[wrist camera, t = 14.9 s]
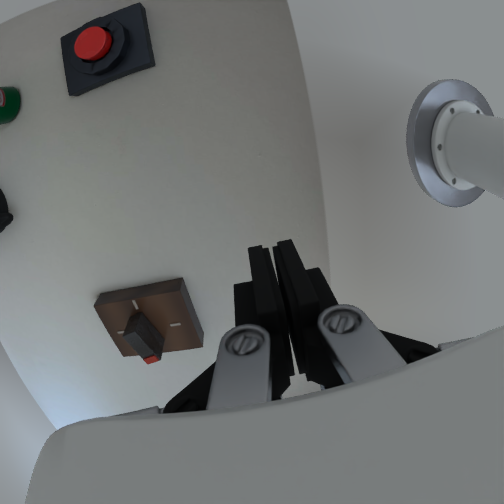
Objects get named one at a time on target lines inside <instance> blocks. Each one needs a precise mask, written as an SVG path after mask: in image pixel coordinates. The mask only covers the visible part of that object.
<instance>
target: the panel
mask: <svg viewBox="0 0 504 504" xmlns="http://www.w3.org/2000/svg"><path fill="white" fill-rule="evenodd" d="M94 308H95V310H96V312H97V313H98V315H99V317H100V319H101V321H102V322H103V324H104V326H105V328H106V329H107V331H108V333H109V334H110V336H111V338H112V339H113V341H114V343H115V344H116V346H117V348H118V349H119V351H120V352H121V354H122V355H123V357H126V356H137V355H139V354H138V353H137V352H136V351H135V350H134V349H133V348H132V347H131V346H130V345H129V344H128V343H127V342H126V340H125V339H124V338H123V337H122V336H123V333H124V330H125V328H126V325H127V322H128V320H129V317H131V316H133V315H135V314H137V313H140V312H142V313H143V314H144V315H145V317H146V318H147V319H148V320H149V321H150V323H151V324H152V325H153V326H154V327H155V328H156V330H157V331H158V332H159V333H160V334H161V335H162V337H163V338H164V339H165V342H164V346H163V351H162V353H164V352H172V351H180V350H187V349H194V348H201V347H203V338H204V333H203V330H202V328H201V325H200V322H199V320H198V317H197V315H196V312H195V309H194V307H193V304H192V302H191V299H190V296H189V293H188V291H187V288H186V285H185V282H184V280H183V278H179V279H174V280H169V281H164V282H159V283H154V284H149V285H143V286H138V287H133V288H128V289H123V290H117V291H112V292H107V293H101V294H100V295H99V297H98V299H97V300H96V302H95V304H94Z"/></svg>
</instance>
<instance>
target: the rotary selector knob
mask: <svg viewBox="0 0 504 504" xmlns="http://www.w3.org/2000/svg"><path fill="white" fill-rule="evenodd" d="M122 337H123V338H124V339H125V340H126V342H127V343H128V344H129V345H130V346H131V347H132V348H133V349H134V350H135V351H136V352H137V353H138V354H139V355H140V356H141V357H142V358H143V360H144V361H145V362H146V363H147V364H151V363H154V362H157V361H159V360H161V356H162V351H163V346H164V342H165V339H164V338H163V337H162V335H161V334H160V333H159V332H158V331H157V330H156V328H155V327H154V326H153V325H152V324H151V323H150V321H149V320H148V319H147V318H146V317H145V315H144V314H143V313H142V312H140V313H137V314H135V315H133V316H131V317H129V320H128V322H127V325H126V328H125V330H124V333H123V336H122Z"/></svg>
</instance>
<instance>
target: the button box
mask: <svg viewBox="0 0 504 504" xmlns="http://www.w3.org/2000/svg"><path fill="white" fill-rule="evenodd" d="M90 27H100V28H102V29H104V30H106V31H107V32H109V34H110V35H111V38H112V43H111V47H110V49H109V51H108V52H107V53H106V54H105V55H104V56H103V57H102V58H100V59H98V60H95V61H89V60H85V59H82V58H80V57H78V56H77V55H76V53H75V50H74V46H75V42H76V39H77V38H78V36H79V35H80V34H81V33H82V32H83V31H84V30H86V29H87V28H90ZM61 47H62V55H63V62H64V69H65V75H66V81H67V87H68V92H69V96H79V95H81V94H83V93H85V92H88V91H90V90H92V89H94V88H97V87H99V86H101V85H104V84H106V83H109V82H111V81H114V80H116V79H119V78H121V77H124V76H127V75H129V74H132V73H135V72H138V71H141V70H144V69H147V68H150V67H153V66H155V60H154V55H153V50H152V45H151V40H150V34H149V29H148V23H147V18H146V12H145V8H144V7H143V6H142V4H141V3H137V4H134V5H131V6H128V7H126V8H123V9H121V10H118V11H116V12H113V13H111V14H108V15H106V16H104V17H99V18H96V19H94V20H92V21H90V22H88V23H86V24H84V25H83V26H82V27H80V28H78V29H76V30H74V31H72V32H70V33H68V34H67V35H65V36H63V37H61Z"/></svg>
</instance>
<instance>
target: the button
mask: <svg viewBox="0 0 504 504" xmlns="http://www.w3.org/2000/svg"><path fill="white" fill-rule="evenodd" d="M111 43H112V38H111V35H110V34H109V32H107V31H106V30H104V29H102V28H100V27H90V28H87V29H86V30H84V31H83V32H82V33H81V34H80V35H79V36H78V38H77V39H76V42H75V46H74V50H75V53H76V55H77V56H78V57H80V58H82V59H85V60H89V61H95V60H98V59H100V58H102V57H103V56H104V55H105V54H106V53H107V52H108V51H109V49H110V47H111Z"/></svg>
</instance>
